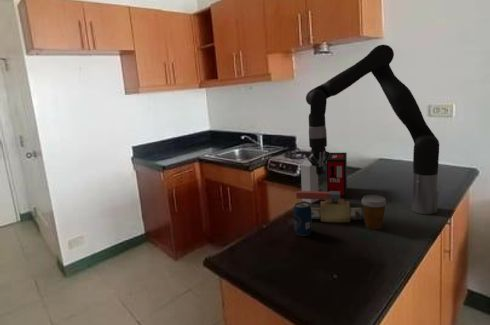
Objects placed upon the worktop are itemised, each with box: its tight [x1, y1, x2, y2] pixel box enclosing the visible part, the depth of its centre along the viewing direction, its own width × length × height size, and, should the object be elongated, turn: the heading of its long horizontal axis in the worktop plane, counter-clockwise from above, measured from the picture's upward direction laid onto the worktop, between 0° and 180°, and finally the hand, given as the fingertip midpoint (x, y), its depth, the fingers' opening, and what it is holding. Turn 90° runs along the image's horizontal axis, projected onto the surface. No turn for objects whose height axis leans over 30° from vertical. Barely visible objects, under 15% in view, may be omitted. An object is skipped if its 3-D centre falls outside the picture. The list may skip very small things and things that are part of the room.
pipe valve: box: [311, 198, 363, 223], centre depth 145 cm, size 25×7×9 cm, turn 78°
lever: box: [295, 190, 341, 201], centre depth 145 cm, size 18×4×3 cm, turn 72°
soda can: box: [293, 201, 313, 237], centre depth 134 cm, size 7×7×12 cm
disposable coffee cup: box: [360, 194, 388, 230], centre depth 134 cm, size 10×10×12 cm
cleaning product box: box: [326, 152, 348, 199], centre depth 175 cm, size 16×9×20 cm, turn 161°
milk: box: [300, 157, 320, 204], centre depth 167 cm, size 6×6×22 cm
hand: (319, 174), depth 150 cm, fingers closed
